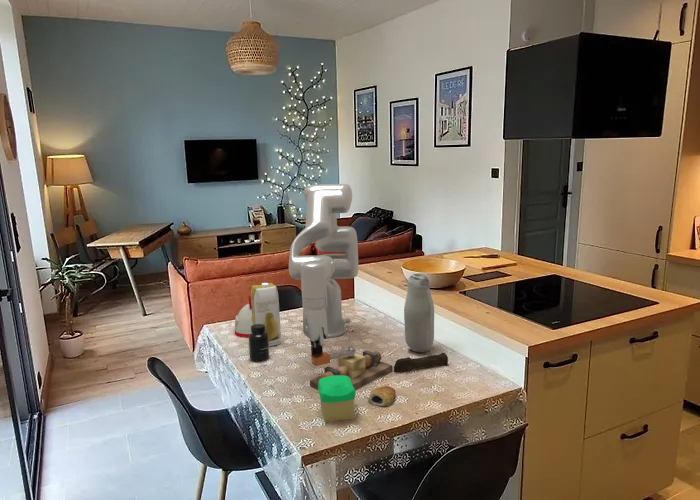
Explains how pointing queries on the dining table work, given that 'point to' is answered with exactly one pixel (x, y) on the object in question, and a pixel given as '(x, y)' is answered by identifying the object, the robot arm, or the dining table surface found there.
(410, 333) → the grey bottle
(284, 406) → the dining table surface
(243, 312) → the white and red dome
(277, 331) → the juice carton
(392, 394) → the pastry
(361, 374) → the pipe board
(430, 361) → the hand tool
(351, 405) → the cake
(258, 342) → the supplement bottle
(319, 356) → the valve lever
